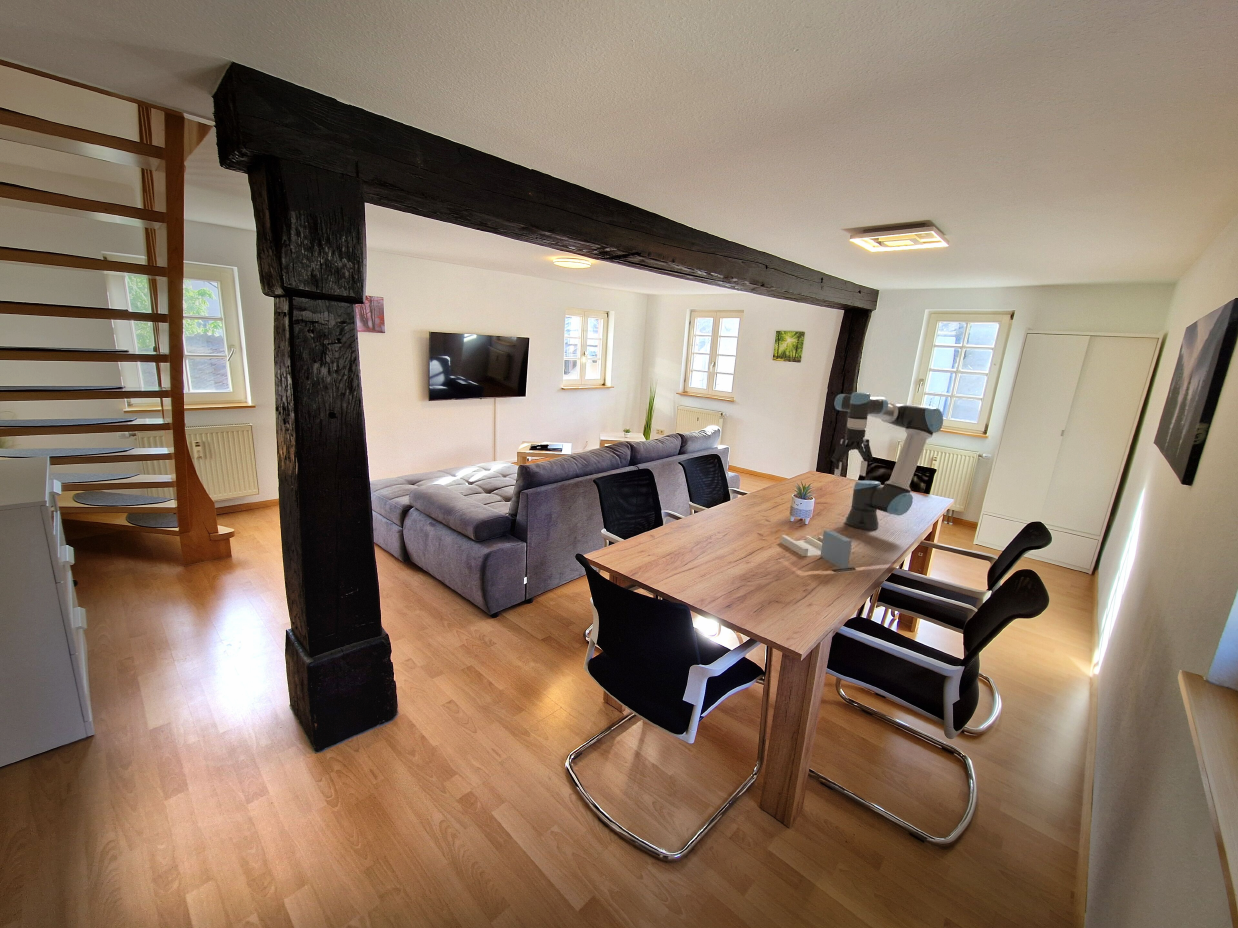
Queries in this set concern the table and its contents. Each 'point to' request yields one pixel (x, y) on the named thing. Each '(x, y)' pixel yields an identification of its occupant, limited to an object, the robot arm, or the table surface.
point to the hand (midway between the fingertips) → (849, 475)
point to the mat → (844, 570)
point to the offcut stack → (819, 538)
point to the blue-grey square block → (836, 548)
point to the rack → (804, 545)
